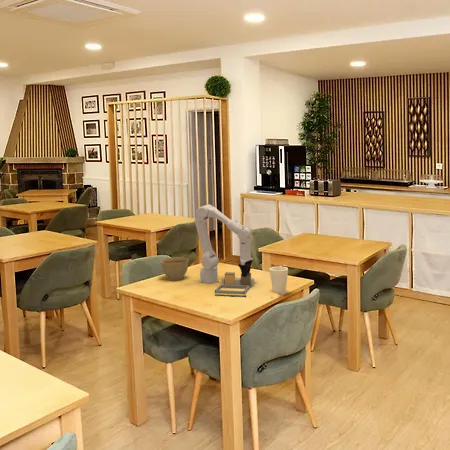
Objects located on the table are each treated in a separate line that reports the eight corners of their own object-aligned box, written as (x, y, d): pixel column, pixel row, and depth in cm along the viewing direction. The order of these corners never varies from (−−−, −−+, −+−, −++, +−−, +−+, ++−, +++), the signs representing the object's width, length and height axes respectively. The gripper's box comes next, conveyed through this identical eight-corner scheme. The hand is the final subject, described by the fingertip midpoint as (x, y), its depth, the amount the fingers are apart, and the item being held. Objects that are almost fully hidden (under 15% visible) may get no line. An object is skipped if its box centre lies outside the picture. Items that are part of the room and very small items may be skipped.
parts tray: (214, 295, 288) (214, 290, 288) (220, 289, 299) (220, 284, 298) (245, 297, 284) (244, 291, 284) (249, 291, 295) (249, 285, 294)
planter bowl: (169, 274, 336) (168, 256, 334) (193, 275, 330) (193, 257, 328) (156, 281, 321) (155, 262, 319) (182, 283, 315) (181, 264, 314)
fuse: (224, 284, 304) (224, 273, 303) (226, 282, 307) (226, 272, 306) (233, 284, 303) (233, 273, 302) (235, 283, 305) (234, 272, 304)
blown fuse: (241, 284, 302) (240, 274, 301) (242, 283, 304) (242, 272, 303) (250, 285, 300) (249, 274, 299) (251, 283, 303) (251, 272, 302)
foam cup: (283, 296, 283) (283, 271, 281) (267, 294, 288) (266, 269, 285) (291, 291, 291) (291, 267, 288) (275, 289, 295) (275, 265, 293)
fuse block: (251, 289, 297) (251, 281, 296) (220, 288, 301) (220, 280, 300) (255, 284, 306) (255, 276, 306) (225, 283, 311) (224, 275, 310)
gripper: (249, 253, 291) (250, 278, 294) (255, 247, 305) (256, 271, 307) (236, 253, 293) (237, 278, 295) (242, 247, 307) (243, 271, 309)
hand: (246, 274), depth 301 cm, fingers open, 7 cm apart
